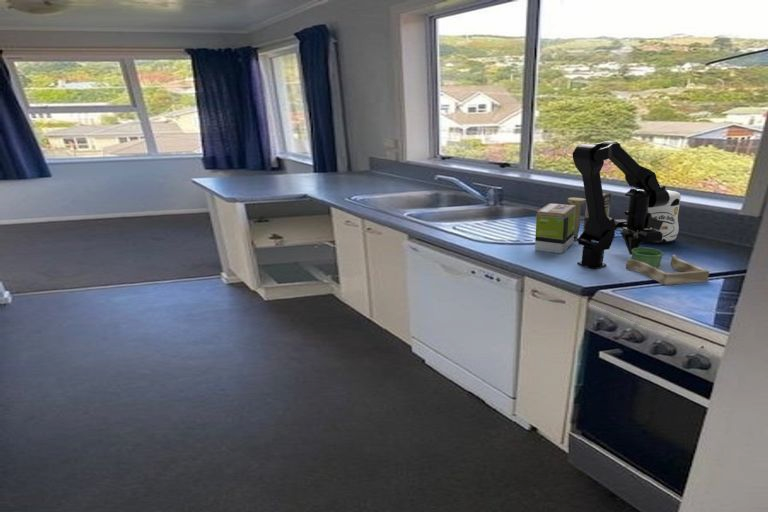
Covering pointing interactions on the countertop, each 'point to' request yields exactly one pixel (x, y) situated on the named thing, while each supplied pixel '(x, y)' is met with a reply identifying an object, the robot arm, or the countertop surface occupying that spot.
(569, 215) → the tea box
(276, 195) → the countertop surface
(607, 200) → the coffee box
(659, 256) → the ramekin
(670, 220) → the milk container
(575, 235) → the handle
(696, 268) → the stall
